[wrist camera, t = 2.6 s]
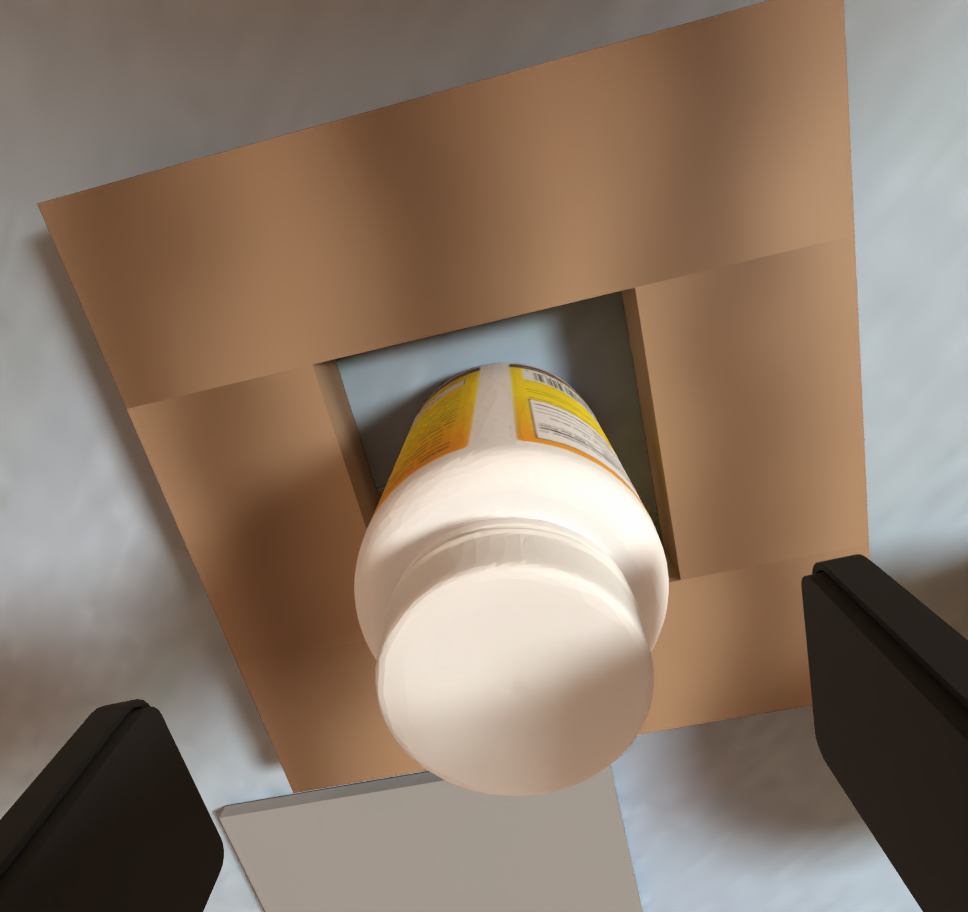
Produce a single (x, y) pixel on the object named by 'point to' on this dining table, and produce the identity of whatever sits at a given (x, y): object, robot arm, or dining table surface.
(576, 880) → the grey mat
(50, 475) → the dining table surface
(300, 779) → the wooden square frame
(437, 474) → the supplement bottle
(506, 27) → the dining table surface
